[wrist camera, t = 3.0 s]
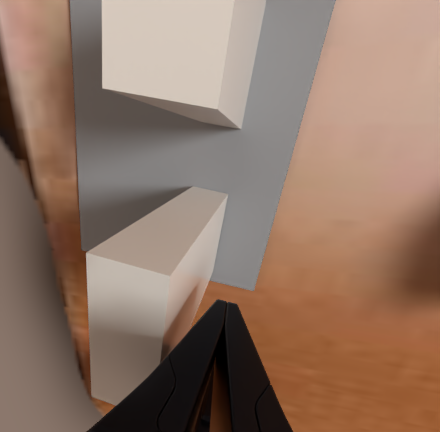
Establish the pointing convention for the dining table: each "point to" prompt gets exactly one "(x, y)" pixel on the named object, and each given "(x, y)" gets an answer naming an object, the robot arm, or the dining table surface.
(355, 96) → the dining table surface
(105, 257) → the tile
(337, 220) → the dining table surface
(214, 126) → the mat
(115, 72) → the tile
